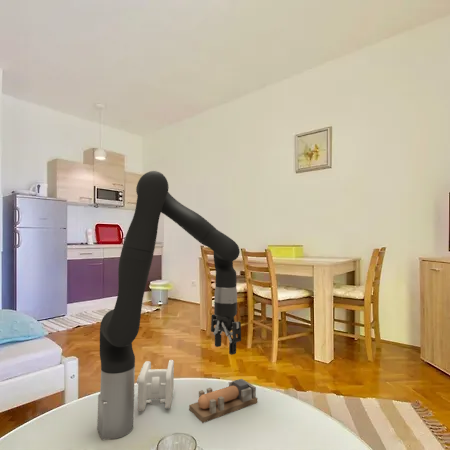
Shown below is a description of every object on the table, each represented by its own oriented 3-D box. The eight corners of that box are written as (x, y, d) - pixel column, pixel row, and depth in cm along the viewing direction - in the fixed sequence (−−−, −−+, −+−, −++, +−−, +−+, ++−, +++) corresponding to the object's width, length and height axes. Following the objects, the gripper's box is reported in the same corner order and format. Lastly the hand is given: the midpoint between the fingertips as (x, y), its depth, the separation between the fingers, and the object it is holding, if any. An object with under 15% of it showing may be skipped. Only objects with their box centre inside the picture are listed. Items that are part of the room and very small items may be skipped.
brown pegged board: (202, 422, 91) (202, 405, 91) (189, 409, 98) (189, 393, 99) (257, 402, 103) (257, 387, 103) (241, 392, 110) (241, 377, 110)
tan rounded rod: (202, 413, 94) (202, 398, 94) (195, 407, 97) (195, 392, 97) (247, 397, 103) (247, 383, 104) (239, 392, 107) (239, 379, 107)
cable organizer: (170, 414, 96) (171, 375, 96) (135, 415, 95) (136, 376, 95) (173, 391, 111) (174, 357, 111) (143, 392, 110) (144, 358, 110)
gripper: (205, 298, 106) (204, 346, 105) (228, 305, 95) (228, 359, 94) (223, 296, 111) (222, 342, 110) (247, 302, 99) (247, 354, 98)
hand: (225, 350), depth 102 cm, fingers open, 8 cm apart
